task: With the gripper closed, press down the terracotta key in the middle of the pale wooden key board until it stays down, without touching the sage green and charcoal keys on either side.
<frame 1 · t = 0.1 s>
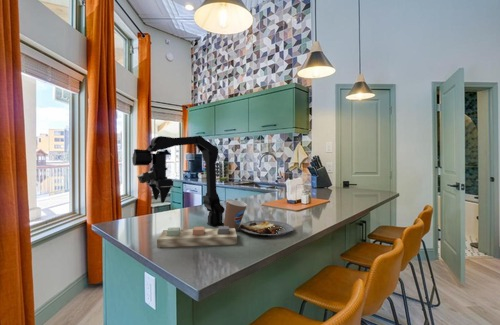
hand: (159, 201, 110), 15 cm above the countertop, tool pointing down, fingers open, 9 cm apart
coffee cup: (230, 227, 120), point 1 cm above the countertop
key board: (198, 240, 102), on the countertop
charcoal key: (223, 231, 103), point 3 cm above the countertop, slide at 0.0 cm
sage key: (173, 233, 101), point 3 cm above the countertop, slide at 0.0 cm
terracotta key: (198, 232, 102), point 3 cm above the countertop, slide at 0.0 cm
food plate: (265, 231, 117), on the countertop
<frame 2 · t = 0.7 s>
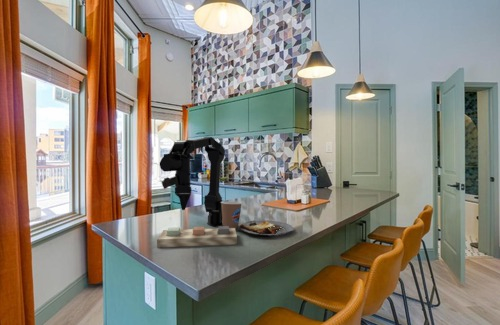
hand: (183, 207, 105), 13 cm above the countertop, tool pointing down, fingers open, 9 cm apart
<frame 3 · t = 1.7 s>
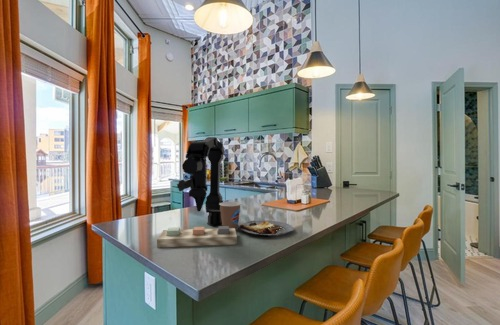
hand: (198, 211, 102), 12 cm above the countertop, tool pointing down, fingers closed
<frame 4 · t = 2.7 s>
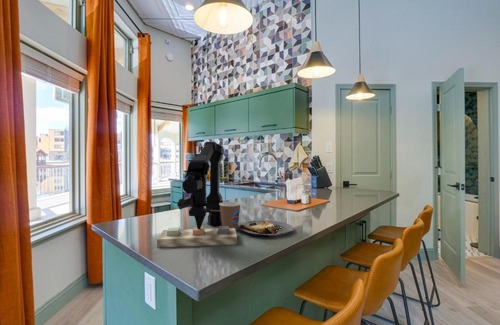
hand: (198, 228, 102), 5 cm above the countertop, tool pointing down, fingers closed, pressing on terracotta key
terracotta key: (198, 232, 102), point 3 cm above the countertop, slide at 0.2 cm, touching gripper
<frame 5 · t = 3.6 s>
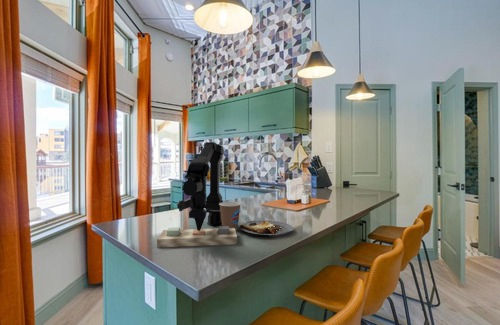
hand: (198, 230, 102), 4 cm above the countertop, tool pointing down, fingers closed
terracotta key: (198, 235, 102), point 2 cm above the countertop, slide at 1.3 cm
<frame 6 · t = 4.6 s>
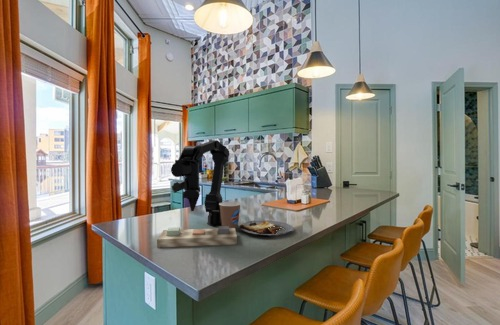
hand: (192, 210, 109), 11 cm above the countertop, tool pointing down, fingers closed
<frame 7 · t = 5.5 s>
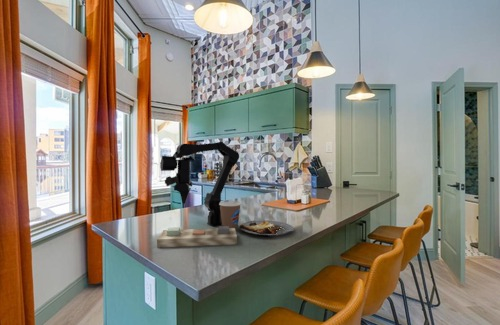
hand: (183, 203, 119), 12 cm above the countertop, tool pointing down, fingers closed
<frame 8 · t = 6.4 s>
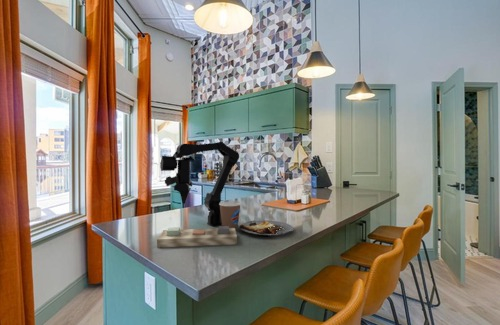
hand: (183, 203, 119), 12 cm above the countertop, tool pointing down, fingers closed
at the end: terracotta key slide at 1.3 cm; sage key slide at 0.0 cm; charcoal key slide at 0.0 cm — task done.
